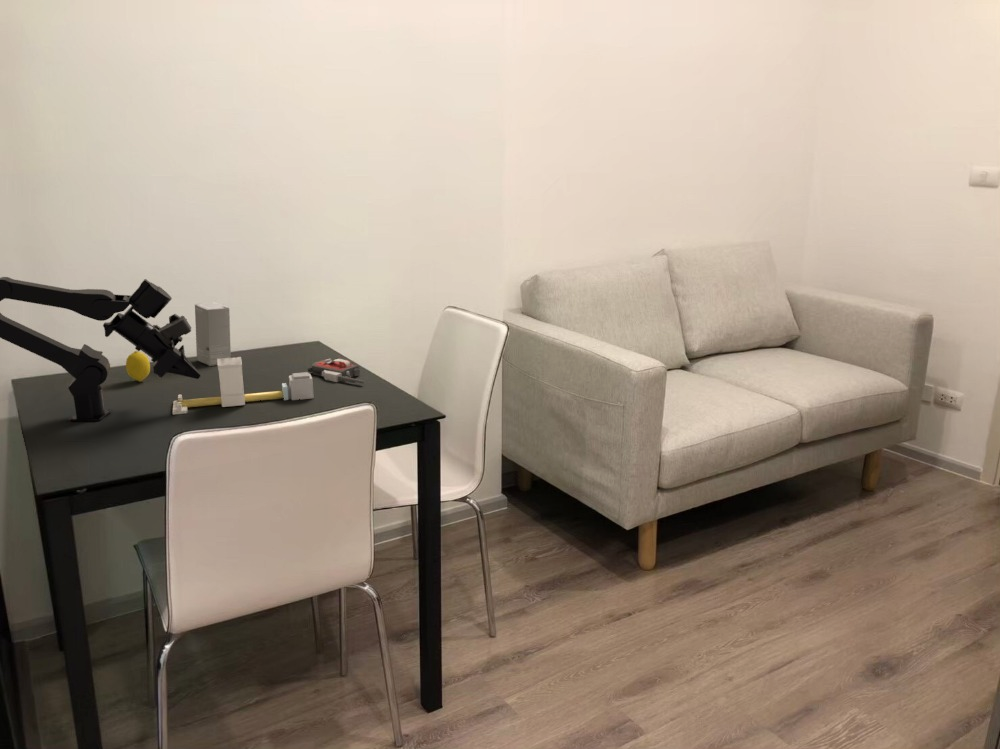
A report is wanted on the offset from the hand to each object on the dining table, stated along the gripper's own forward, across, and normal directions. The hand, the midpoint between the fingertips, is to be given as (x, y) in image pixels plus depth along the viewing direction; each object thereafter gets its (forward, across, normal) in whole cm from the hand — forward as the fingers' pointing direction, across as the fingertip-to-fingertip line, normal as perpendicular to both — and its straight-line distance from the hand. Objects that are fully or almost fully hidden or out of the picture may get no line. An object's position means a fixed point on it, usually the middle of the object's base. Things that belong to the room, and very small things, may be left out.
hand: (199, 377), depth 189 cm
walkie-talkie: (+29, +14, -18) cm, 37 cm away
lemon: (-6, +26, +16) cm, 31 cm away
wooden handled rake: (+10, 0, 0) cm, 10 cm away
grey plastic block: (+20, 0, -10) cm, 22 cm away
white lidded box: (+10, 0, 0) cm, 10 cm away
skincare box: (+7, +40, +3) cm, 40 cm away
